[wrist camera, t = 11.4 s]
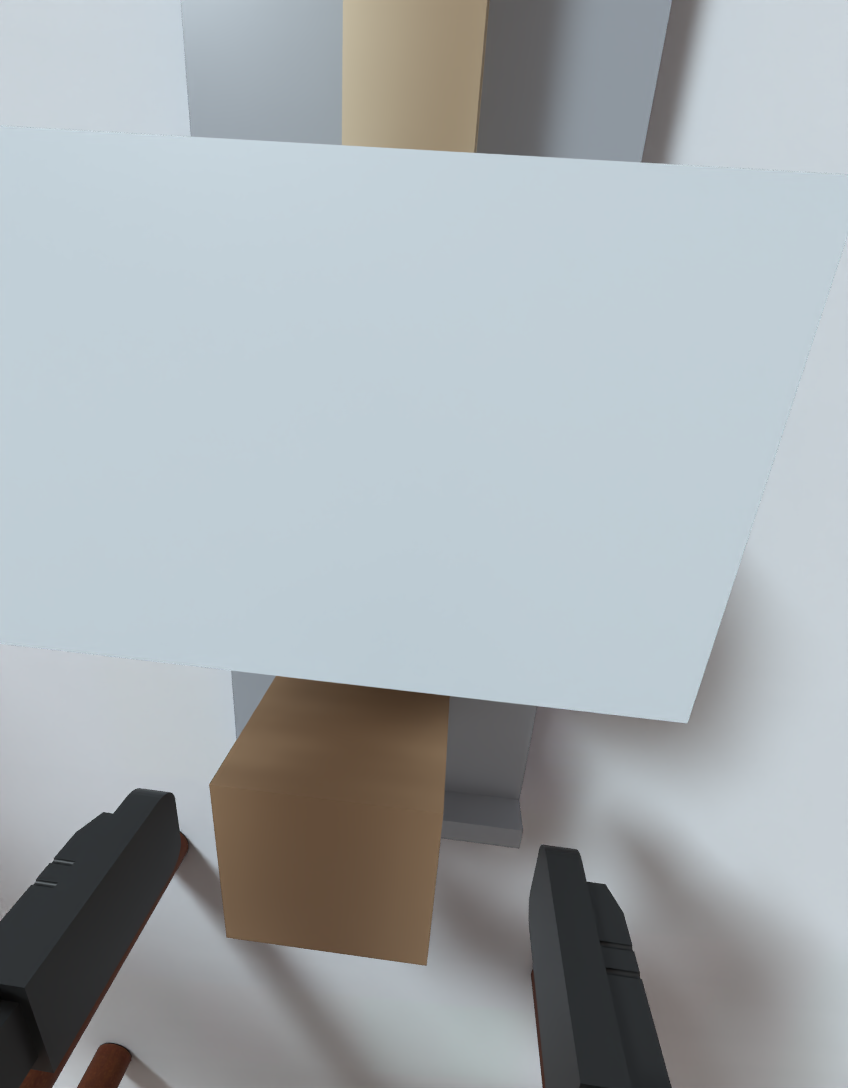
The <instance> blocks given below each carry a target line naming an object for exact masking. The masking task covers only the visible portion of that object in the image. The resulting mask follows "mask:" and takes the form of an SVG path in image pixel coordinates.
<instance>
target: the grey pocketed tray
mask: <svg viewBox="0 0 848 1088" xmlns="http://www.w3.org/2000/svg"><path fill="white" fill-rule="evenodd" d="M671 4H672V0H490V3H489V15H488V26H487V38H486V49H485V61H484V72H483V84H482V95H481V107H480V118H479V129H478V141H477V152H476V153H468V152H450V151H433V150H416V149H398V148H381V147H364V146H346V145H342V46H343V0H181V13H182V26H183V39H184V52H185V66H186V79H187V92H188V105H189V118H190V132H191V137H190V136H173V135H155V134H138V133H121V132H103V131H86V130H69V129H51V128H34V127H16V126H0V644H7V645H15V646H24V647H32V648H41V649H50V650H58V651H67V652H76V653H84V654H93V655H101V656H110V657H119V658H127V659H136V660H145V661H153V662H162V663H170V664H179V665H188V666H196V667H205V668H214V669H222V670H231V673H232V686H233V700H234V713H235V726H236V739H238V737H239V735H240V734H241V732H242V730H243V729H244V727H245V726H246V724H247V722H248V721H249V719H250V717H251V716H252V714H253V712H254V711H255V709H256V708H257V706H258V704H259V703H260V701H261V699H262V698H263V696H264V695H265V693H266V691H267V690H268V688H269V686H270V685H271V683H272V682H273V680H274V678H275V677H276V676H283V677H291V678H300V679H308V680H317V681H326V682H334V683H343V684H352V685H360V686H369V687H377V688H386V689H395V690H403V691H412V692H421V693H429V694H438V695H446V696H450V700H449V719H448V737H447V756H446V774H445V793H444V811H443V821H442V830H441V838H444V839H451V840H459V841H466V842H474V843H482V844H489V845H497V846H505V847H512V848H520V843H521V838H522V833H523V828H522V819H521V811H520V802H519V799H520V793H521V788H522V783H523V778H524V772H525V767H526V762H527V757H528V751H529V746H530V741H531V736H532V731H533V725H534V720H535V715H536V710H537V706H541V707H550V708H558V709H567V710H576V711H584V712H593V713H602V714H610V715H619V716H627V717H636V718H645V719H653V720H662V721H671V722H679V723H688V720H689V717H690V714H691V711H692V708H693V705H694V702H695V699H696V696H697V693H698V690H699V687H700V684H701V681H702V678H703V675H704V672H705V668H706V665H707V662H708V659H709V656H710V653H711V650H712V647H713V644H714V641H715V638H716V635H717V632H718V629H719V626H720V623H721V620H722V617H723V614H724V611H725V608H726V605H727V602H728V599H729V595H730V592H731V589H732V586H733V583H734V580H735V577H736V574H737V571H738V568H739V565H740V562H741V559H742V556H743V553H744V550H745V547H746V544H747V541H748V538H749V535H750V532H751V529H752V525H753V522H754V519H755V516H756V513H757V510H758V507H759V504H760V501H761V498H762V495H763V492H764V489H765V486H766V483H767V480H768V477H769V474H770V471H771V468H772V465H773V462H774V459H775V455H776V452H777V449H778V446H779V443H780V440H781V437H782V434H783V431H784V428H785V425H786V422H787V419H788V416H789V413H790V410H791V407H792V404H793V401H794V398H795V395H796V392H797V389H798V385H799V382H800V379H801V376H802V373H803V370H804V367H805V364H806V361H807V358H808V355H809V352H810V349H811V346H812V343H813V340H814V337H815V334H816V331H817V328H818V325H819V322H820V319H821V315H822V312H823V309H824V306H825V303H826V300H827V297H828V294H829V291H830V288H831V285H832V282H833V279H834V276H835V273H836V270H837V267H838V264H839V261H840V258H841V255H842V252H843V249H844V245H845V242H846V239H847V236H848V174H832V173H815V172H798V171H780V170H763V169H745V168H728V167H711V166H693V165H676V164H659V163H641V161H642V155H643V150H644V145H645V140H646V134H647V129H648V124H649V119H650V114H651V108H652V103H653V98H654V93H655V87H656V82H657V77H658V72H659V67H660V61H661V56H662V51H663V46H664V40H665V35H666V30H667V25H668V19H669V14H670V9H671Z"/></svg>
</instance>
